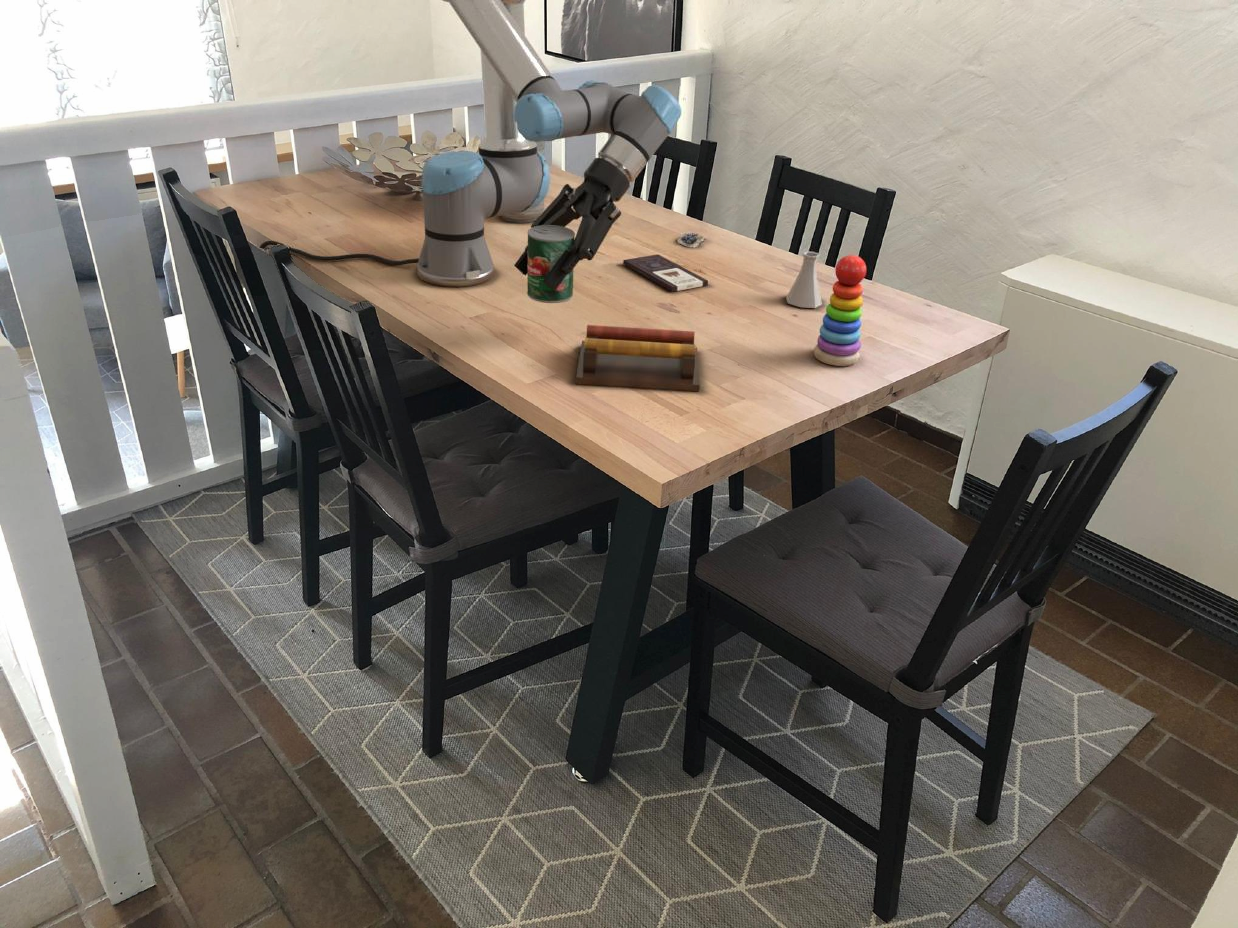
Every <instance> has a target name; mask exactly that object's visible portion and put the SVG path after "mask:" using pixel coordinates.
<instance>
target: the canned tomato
mask: <svg viewBox="0 0 1238 928" xmlns="http://www.w3.org/2000/svg"><path fill="white" fill-rule="evenodd" d="M575 237H576V233H575V231H574V230H573V229H571V228H569V227H566V226H565V227H563V226H556V225H541V226H535V227H532V228H531V227H530V228H528V230H527V245H528V265H527V266H528V269H527V270H528V273H527V274H526V276H527V291H526V294H527V297H528V298H530V299H531V300H533V301H536V302H539V303H544V304H560V303H565V302H567V301H570V300H572V298H573V297H574V272H575V269H573V270H572V271H571V273H570V274H568V275H566V277H565V278H564V279H563V281H562V282H561V283H560V285H559V286H558V287H557V289H556V290H555V291H553V290H551V289H550V288H549V287H548V286H547V285H546V284H545V283H544V282H543V280H544V279H545V277H546V276H547V275H548V273H549V272H550V271H551V269H552V268H553V267H554V265H555V264H556V263H557V261H558V260H559V258H560V257H561V256H562V254H563V253H564V252H565V250H568V251H569V252H570V253H571V251H570V250H569V249H568V247H572V245H573V242H574V239H575Z"/></svg>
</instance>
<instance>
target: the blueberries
mask: <svg viewBox="0 0 1238 928" xmlns="http://www.w3.org/2000/svg"><path fill="white" fill-rule="evenodd" d="M706 240H707V238H706V237H705V236H702V235H700V234H698V233H694V232H692V233H691V232H690V233H684V234H681V235H679V237H678V238H677V241H676V243H678V244H679V245H680V244H681V245H682V246H684V247H686V248H697V247H698V246H699V245H700V243H702V242H704V241H706Z"/></svg>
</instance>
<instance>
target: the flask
mask: <svg viewBox="0 0 1238 928" xmlns="http://www.w3.org/2000/svg"><path fill="white" fill-rule="evenodd" d="M802 257H803V260H802V265H801V267H800V270H799V273H798V275H797V277H796V279H795V280H794V283H793V284H792V286H791V287H790V289H789V291H788V293H787V295H786V298H785V299H786V302H787V304H789V305H792V306H794V307H798V308H809V309H817V308H818V307H820V306H822V305H823V302H822V297H821V293H820V286H819V280H818V274H817V273H818V272H817V263H818V259H819V258H820V254H819V252H815V251H807V250H806V251H804V252H802Z"/></svg>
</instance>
